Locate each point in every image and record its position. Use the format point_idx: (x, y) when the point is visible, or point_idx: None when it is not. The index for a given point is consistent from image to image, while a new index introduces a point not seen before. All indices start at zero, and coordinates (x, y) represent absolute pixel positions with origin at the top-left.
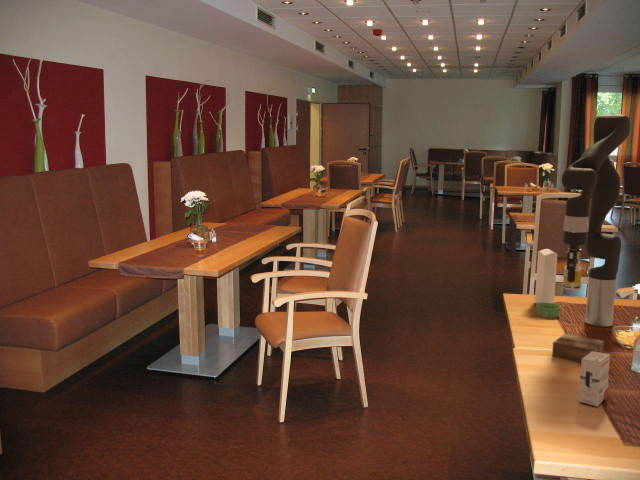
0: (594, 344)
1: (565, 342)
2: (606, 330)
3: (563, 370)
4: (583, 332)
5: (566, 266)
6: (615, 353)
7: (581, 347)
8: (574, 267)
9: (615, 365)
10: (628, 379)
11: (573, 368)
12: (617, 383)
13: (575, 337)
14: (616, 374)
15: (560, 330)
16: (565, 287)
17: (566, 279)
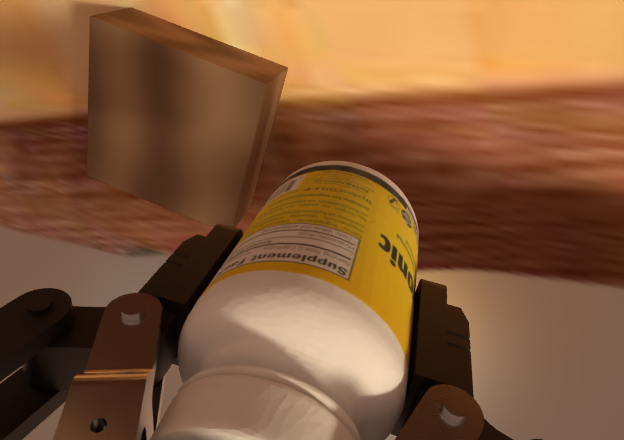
0: (162, 191)
1: (122, 76)
2: (618, 282)
3: (13, 48)
4: (564, 181)
5: (234, 324)
6: None
7: (95, 136)
8: (15, 385)
9: (162, 222)
10: (65, 230)
11: (54, 85)
12: (17, 197)
13: (220, 128)
14: (84, 208)
15: (589, 67)
16: (287, 179)
17: (251, 224)
